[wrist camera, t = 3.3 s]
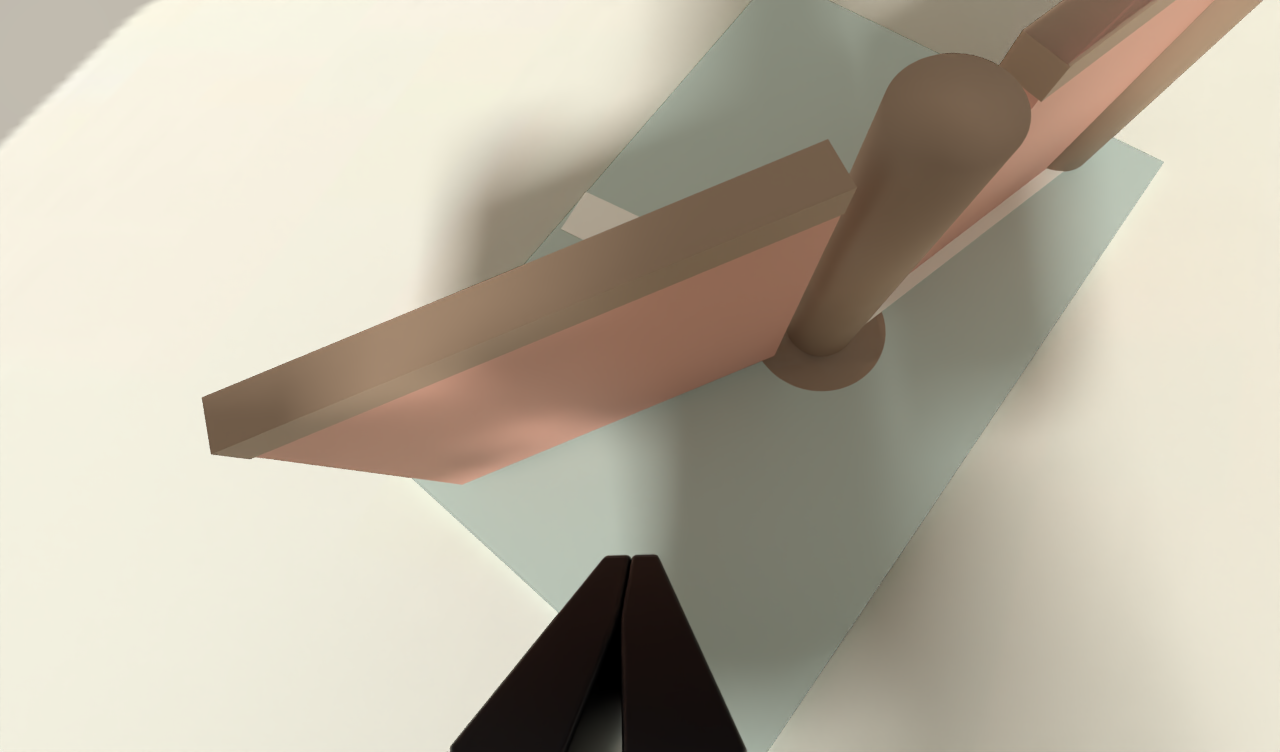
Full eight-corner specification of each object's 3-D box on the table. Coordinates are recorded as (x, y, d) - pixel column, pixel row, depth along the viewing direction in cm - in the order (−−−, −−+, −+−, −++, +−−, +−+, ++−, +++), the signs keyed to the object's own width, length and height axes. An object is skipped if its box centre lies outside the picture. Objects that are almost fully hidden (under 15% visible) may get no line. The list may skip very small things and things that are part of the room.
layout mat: (1156, 168, 17) (1165, 161, 17) (744, 778, 14) (745, 784, 14) (773, -19, 20) (774, -27, 20) (376, 441, 17) (369, 440, 17)
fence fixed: (1096, 143, 17) (1538, -270, 8) (880, 452, 16) (1136, 362, 7) (940, 66, 19) (1171, -363, 10) (725, 344, 17) (756, 144, 8)
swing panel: (834, 284, 17) (981, 34, 8) (866, 340, 16) (1060, 137, 7) (452, 441, 17) (187, 361, 8) (470, 504, 16) (207, 489, 7)
